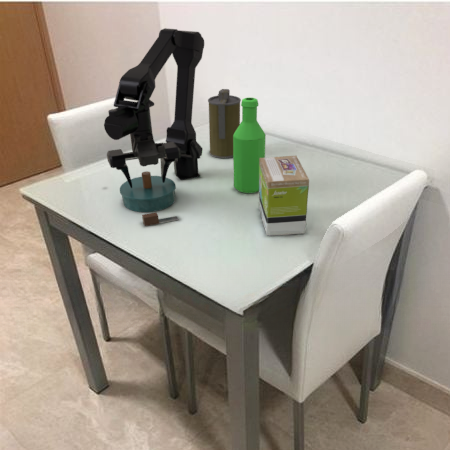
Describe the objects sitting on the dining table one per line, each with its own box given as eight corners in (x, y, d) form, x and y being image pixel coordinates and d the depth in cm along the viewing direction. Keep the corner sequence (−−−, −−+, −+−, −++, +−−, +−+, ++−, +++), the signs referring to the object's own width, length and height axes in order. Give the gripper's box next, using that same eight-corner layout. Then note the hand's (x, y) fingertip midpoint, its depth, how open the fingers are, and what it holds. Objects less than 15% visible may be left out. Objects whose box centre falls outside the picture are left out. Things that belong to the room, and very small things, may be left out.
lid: (168, 176, 145) (166, 159, 142) (182, 197, 133) (180, 179, 130) (115, 184, 141) (112, 167, 138) (125, 206, 129) (123, 188, 126)
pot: (167, 186, 146) (166, 174, 144) (180, 206, 135) (179, 194, 133) (119, 194, 143) (117, 182, 140) (128, 216, 132) (127, 203, 130)
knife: (176, 216, 131) (175, 208, 129) (178, 220, 129) (177, 211, 128) (143, 223, 128) (142, 214, 127) (144, 226, 127) (143, 218, 125)
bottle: (267, 184, 146) (270, 95, 131) (259, 196, 140) (261, 104, 125) (238, 180, 149) (238, 93, 134) (229, 192, 142) (228, 102, 127)
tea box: (257, 209, 133) (258, 156, 124) (294, 207, 134) (297, 154, 125) (265, 237, 121) (267, 180, 113) (306, 234, 122) (311, 177, 113)
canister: (212, 146, 172) (210, 86, 160) (242, 148, 171) (242, 86, 158) (206, 158, 163) (204, 95, 151) (237, 159, 162) (238, 96, 150)
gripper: (109, 142, 118) (118, 202, 128) (184, 132, 123) (188, 190, 133) (102, 128, 127) (111, 185, 136) (172, 119, 132) (177, 175, 141)
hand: (147, 184), depth 136 cm, fingers open, 9 cm apart
